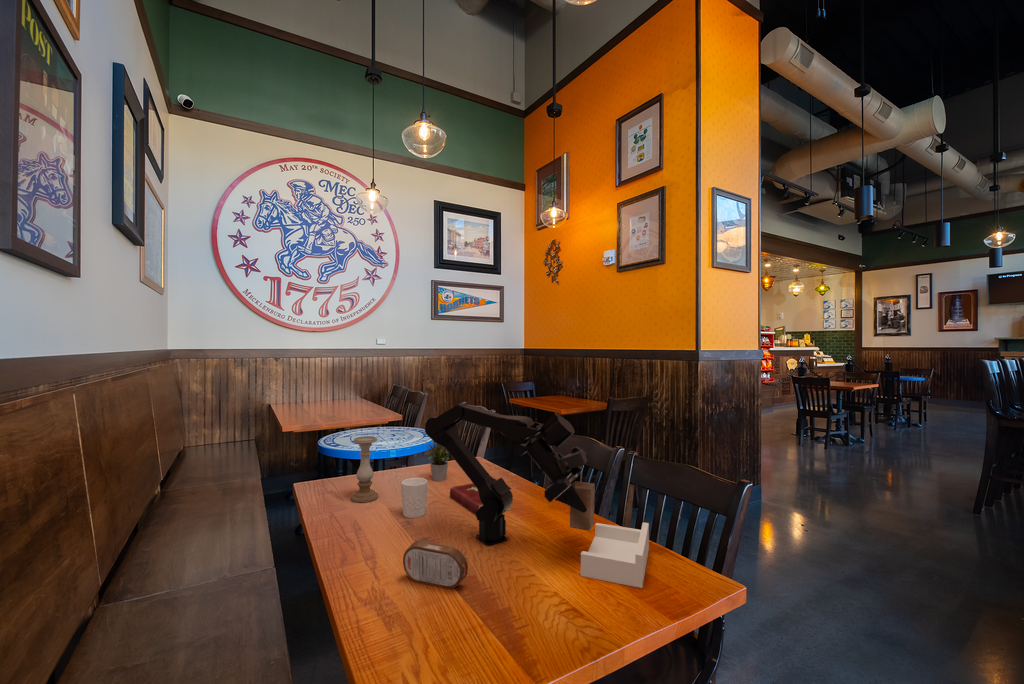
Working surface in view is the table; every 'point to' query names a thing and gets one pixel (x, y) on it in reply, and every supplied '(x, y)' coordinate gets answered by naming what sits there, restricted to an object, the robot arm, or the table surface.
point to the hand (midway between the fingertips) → (587, 507)
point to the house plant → (438, 462)
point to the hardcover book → (468, 497)
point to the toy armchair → (617, 555)
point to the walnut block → (587, 497)
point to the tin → (435, 564)
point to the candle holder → (364, 472)
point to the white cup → (414, 497)
